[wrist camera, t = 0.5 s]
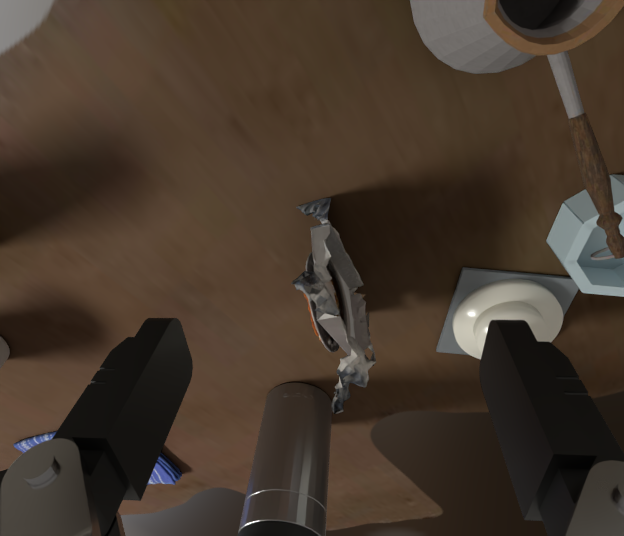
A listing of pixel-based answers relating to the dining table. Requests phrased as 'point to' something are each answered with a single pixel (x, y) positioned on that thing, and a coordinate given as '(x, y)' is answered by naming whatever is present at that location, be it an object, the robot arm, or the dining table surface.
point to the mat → (476, 278)
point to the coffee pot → (519, 49)
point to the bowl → (588, 243)
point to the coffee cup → (3, 351)
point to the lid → (506, 312)
